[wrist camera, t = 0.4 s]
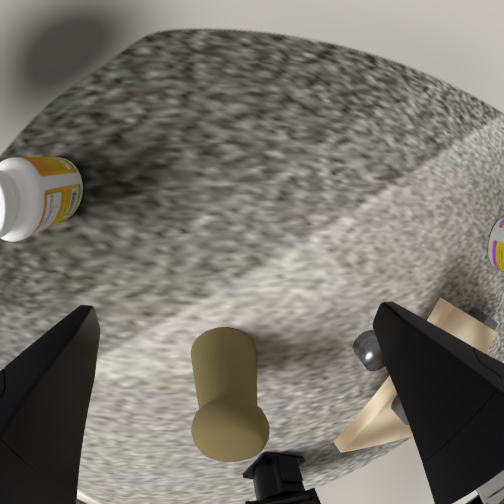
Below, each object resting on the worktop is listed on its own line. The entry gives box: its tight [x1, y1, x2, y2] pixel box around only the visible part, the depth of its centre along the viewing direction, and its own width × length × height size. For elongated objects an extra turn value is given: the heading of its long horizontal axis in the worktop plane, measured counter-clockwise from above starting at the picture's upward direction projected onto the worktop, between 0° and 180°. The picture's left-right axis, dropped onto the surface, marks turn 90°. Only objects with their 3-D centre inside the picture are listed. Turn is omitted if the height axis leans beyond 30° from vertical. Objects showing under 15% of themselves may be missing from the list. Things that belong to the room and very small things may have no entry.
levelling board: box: [333, 297, 498, 453], centre depth 23 cm, size 16×18×4 cm
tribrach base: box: [353, 307, 498, 371], centre depth 28 cm, size 18×20×3 cm
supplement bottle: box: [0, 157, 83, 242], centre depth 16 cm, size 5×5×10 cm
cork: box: [191, 327, 269, 462], centre depth 21 cm, size 6×6×11 cm
